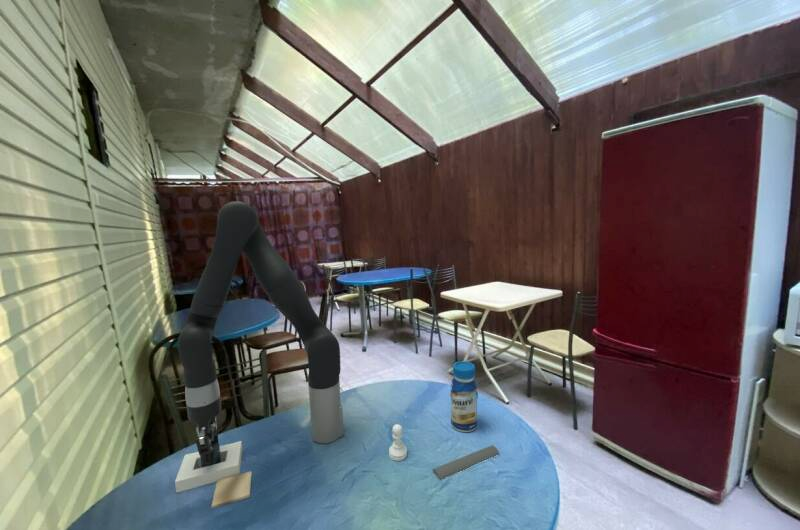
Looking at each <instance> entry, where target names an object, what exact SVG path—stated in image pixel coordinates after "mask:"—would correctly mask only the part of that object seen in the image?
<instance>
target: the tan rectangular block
mask: <svg viewBox="0 0 800 530" xmlns="http://www.w3.org/2000/svg"><path fill="white" fill-rule="evenodd" d="M251 484H252V471H251V470H250V471H247V472H244V473H240V474H239V475H236V476H232V477H229V478H225V479H221V480H218V481H217V482H216V485H215V488H214V489H215V490H214V493H213V497H212V501H211V502H212V503H211V509H215V508H218V507H221V506H225V505H228V504H231V503H234V502H238V501H242V500H244V499H247V498H250V497H251Z"/></svg>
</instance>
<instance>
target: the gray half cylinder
mask: <svg viewBox="0 0 800 530" xmlns="http://www.w3.org/2000/svg"><path fill="white" fill-rule="evenodd" d="M498 454H499V455H500V453H499V449H498V448H497V447H496V446H494V445H490V446H487V447H484V448H482V449H479V450H477V451H474V452H472V453H469V454H467V455H465V456H462V457H460V458H457V459H454V460H451V461H449V462H448V463H445V464H442V465H439V466H438V467H434V468H433V469H432V471H433V473H435V475H436V476H437V478H438V479H439V480H440V481H443V480H445V479H447V478H446V477H448V478H450V477H452V476H451V475H453V474H455V473H457V472H460V471H462V472H464V471H466V470H465V469H467V468H469V467H471V466H473V465H475V464H477V463H479V462H482V461H484V460H487V459H489V458H491V457H494V456H496V455H498ZM469 469H470V468H469ZM463 470H464V471H463ZM467 470H468V469H467ZM460 473H461V472H460ZM457 474H458V473H457ZM455 475H456V474H455ZM449 476H450V477H449ZM453 476H454V475H453ZM442 479H443V480H442Z"/></svg>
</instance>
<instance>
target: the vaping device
mask: <svg viewBox="0 0 800 530" xmlns="http://www.w3.org/2000/svg"><path fill="white" fill-rule="evenodd" d="M218 434H219V433H218V429H217V430H214V440H213V441H212V443H213V456H214V462H213V463H212V464H208V465H204V461H203V455H200V458H201V466H202V467H206V466H210V465H214V464H218V463H222V462H221V457H220V447H219V446H220V442H219V435H218ZM210 437H211V435H210V436H209V438H210ZM202 467H201V468H202Z"/></svg>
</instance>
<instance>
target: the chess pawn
mask: <svg viewBox="0 0 800 530" xmlns="http://www.w3.org/2000/svg"><path fill="white" fill-rule="evenodd" d="M391 435H392V438H393V439H394V441H393V442H392V445H391V446H389V449H388V456H389V458H390V459H391V461H395V462H401V461H403V460H405V459H406V458H407V456H408V449H407V446H406V445H404V443H403V441H402V440H401V438H403V436H404V435H403V427H402V425H400V424H399V423H396V424H394V425H393V427H392V434H391Z"/></svg>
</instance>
